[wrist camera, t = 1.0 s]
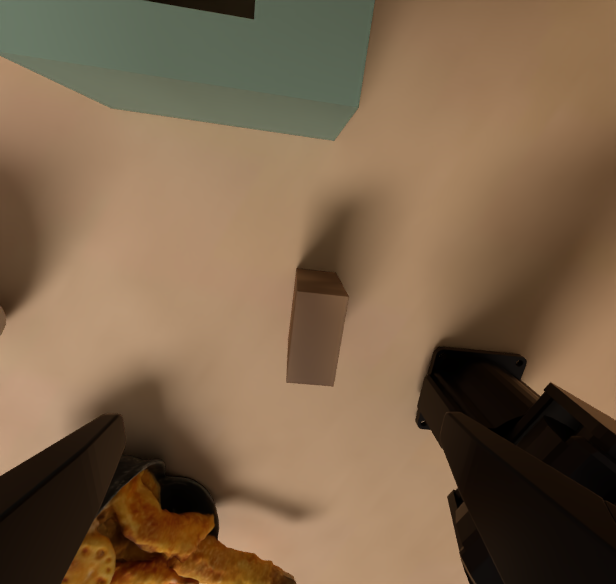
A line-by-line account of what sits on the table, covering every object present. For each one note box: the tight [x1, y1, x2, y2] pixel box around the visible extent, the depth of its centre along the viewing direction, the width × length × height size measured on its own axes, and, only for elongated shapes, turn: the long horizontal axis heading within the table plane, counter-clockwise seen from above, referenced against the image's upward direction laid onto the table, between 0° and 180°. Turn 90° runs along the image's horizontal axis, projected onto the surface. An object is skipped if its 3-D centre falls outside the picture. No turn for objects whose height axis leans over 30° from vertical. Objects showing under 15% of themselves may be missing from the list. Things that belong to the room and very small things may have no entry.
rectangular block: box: [286, 268, 349, 386], centre depth 18 cm, size 2×5×5 cm, turn 173°
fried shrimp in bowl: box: [61, 455, 296, 584], centre depth 20 cm, size 9×11×18 cm
